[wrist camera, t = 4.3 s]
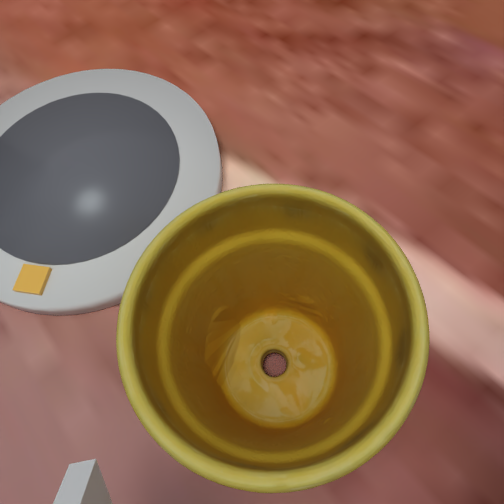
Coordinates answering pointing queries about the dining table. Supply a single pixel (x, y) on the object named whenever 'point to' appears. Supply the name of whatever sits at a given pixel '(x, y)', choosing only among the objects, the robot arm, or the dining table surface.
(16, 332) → the dining table surface
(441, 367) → the dining table surface
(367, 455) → the plant pot
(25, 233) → the base
